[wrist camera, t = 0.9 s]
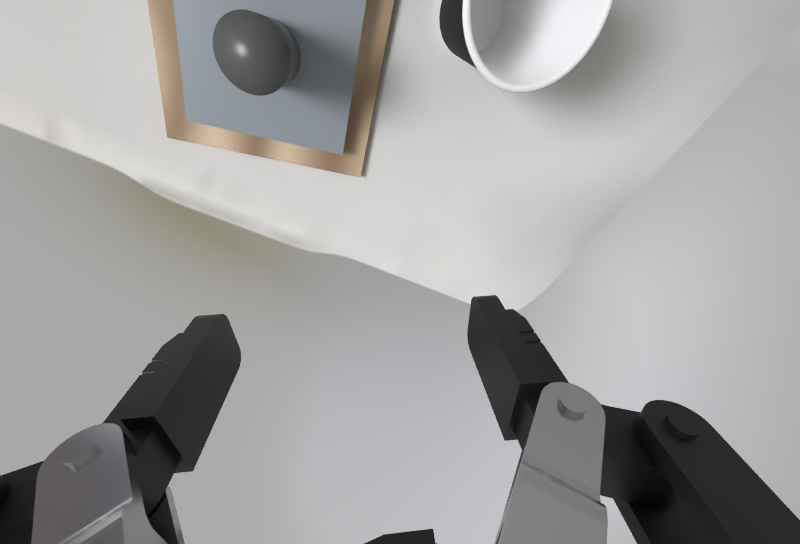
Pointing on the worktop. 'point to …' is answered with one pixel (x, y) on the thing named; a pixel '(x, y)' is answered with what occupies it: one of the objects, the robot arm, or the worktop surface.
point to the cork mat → (348, 163)
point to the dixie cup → (522, 37)
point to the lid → (271, 67)
